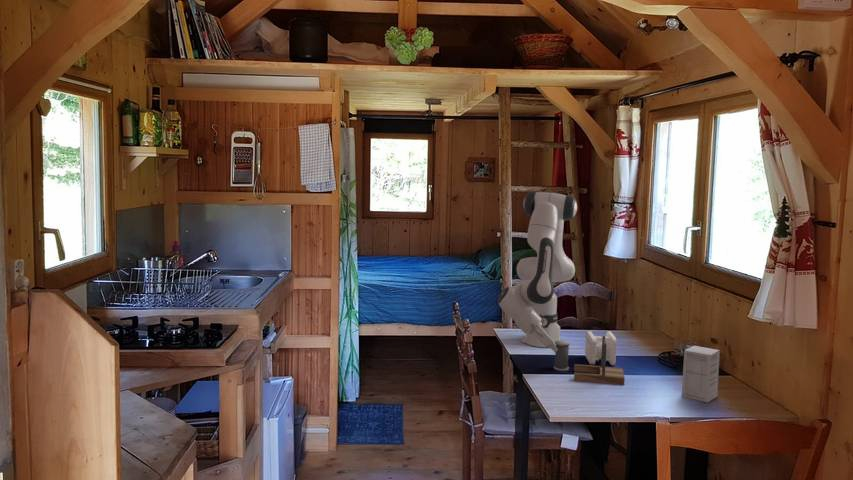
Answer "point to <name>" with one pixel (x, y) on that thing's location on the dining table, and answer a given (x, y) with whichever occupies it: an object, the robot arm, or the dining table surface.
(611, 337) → the cable organizer
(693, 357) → the supplement box
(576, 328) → the dining table surface
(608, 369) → the wooden frame
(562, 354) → the grey mushroom bollard
